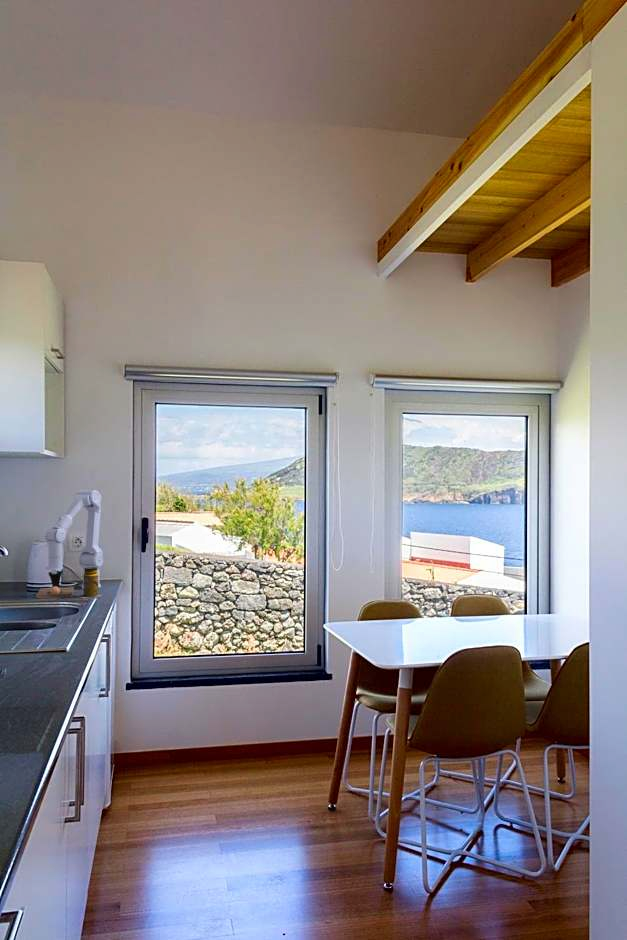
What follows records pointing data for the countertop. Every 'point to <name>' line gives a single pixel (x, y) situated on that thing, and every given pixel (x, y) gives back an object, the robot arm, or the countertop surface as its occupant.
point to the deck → (63, 594)
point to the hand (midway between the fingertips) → (55, 588)
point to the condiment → (90, 583)
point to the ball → (55, 590)
